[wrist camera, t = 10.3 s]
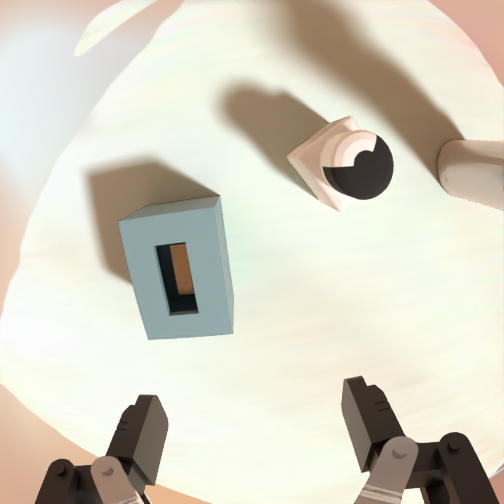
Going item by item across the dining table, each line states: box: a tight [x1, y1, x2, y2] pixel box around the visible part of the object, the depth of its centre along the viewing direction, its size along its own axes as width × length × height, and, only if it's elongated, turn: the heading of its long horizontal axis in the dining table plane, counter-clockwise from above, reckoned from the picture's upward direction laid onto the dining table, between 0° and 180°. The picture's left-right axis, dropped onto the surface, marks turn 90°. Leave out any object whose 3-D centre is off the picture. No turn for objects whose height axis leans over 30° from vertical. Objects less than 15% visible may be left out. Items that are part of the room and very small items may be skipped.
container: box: [287, 116, 394, 212], centre depth 30 cm, size 8×8×13 cm
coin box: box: [118, 195, 234, 340], centre depth 34 cm, size 10×14×10 cm
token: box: [170, 242, 195, 295], centre depth 36 cm, size 2×6×6 cm, turn 5°
